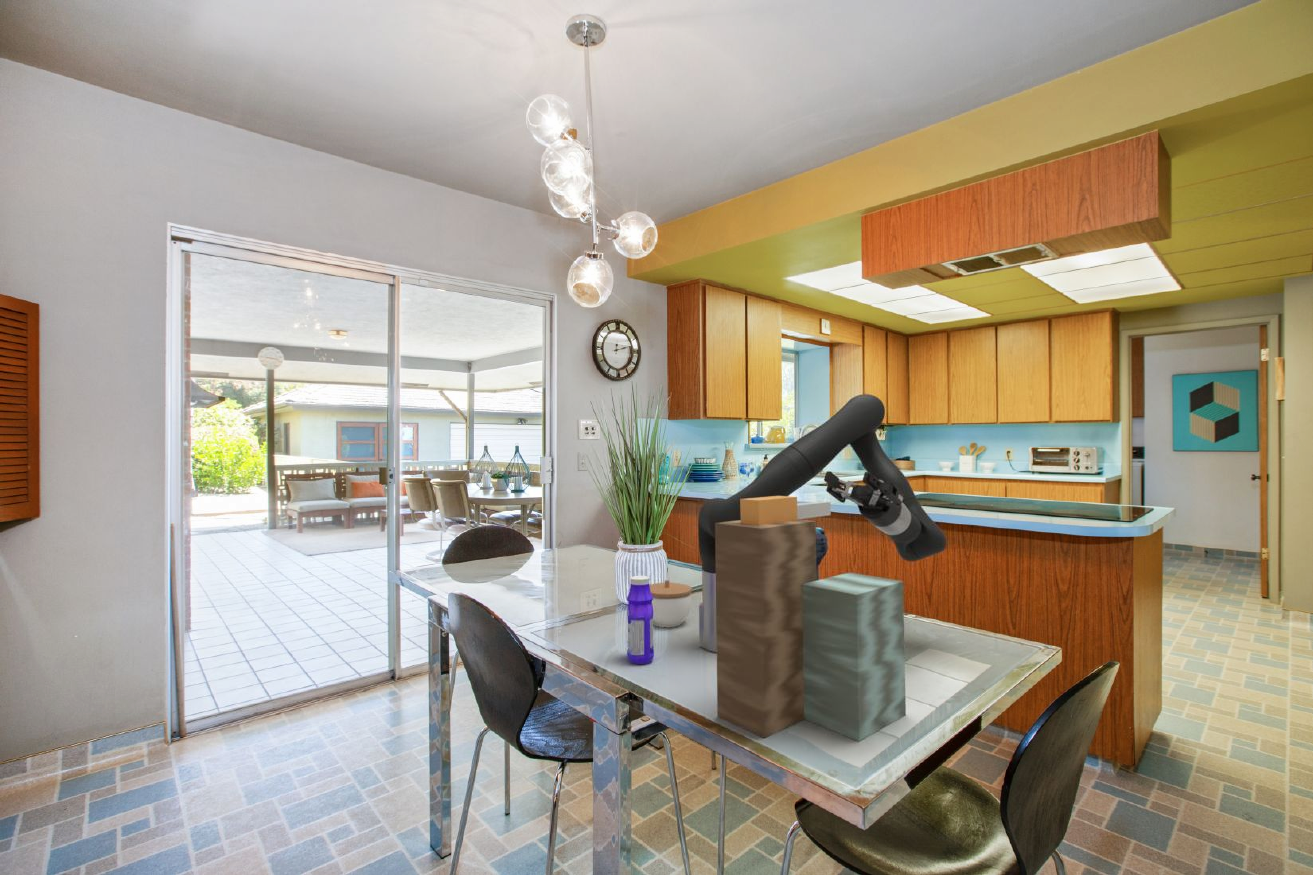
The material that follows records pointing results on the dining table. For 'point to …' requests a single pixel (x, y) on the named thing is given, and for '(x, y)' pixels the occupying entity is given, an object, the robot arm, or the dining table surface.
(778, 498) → the white and orange block
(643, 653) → the bottle
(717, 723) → the dining table surface
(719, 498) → the robot arm
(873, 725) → the stand
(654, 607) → the lidded bowl
